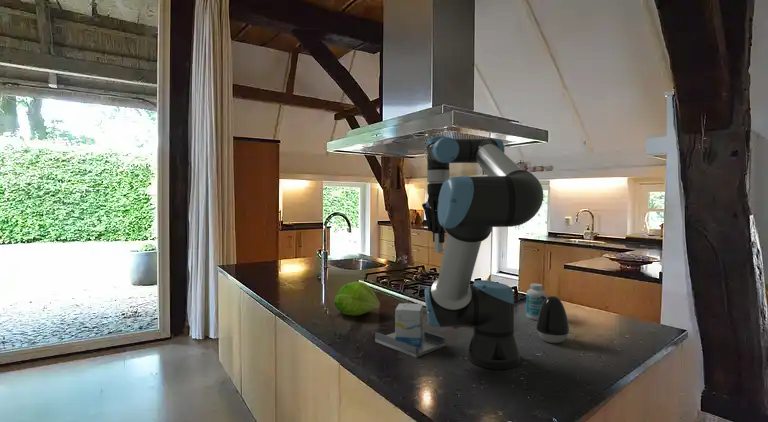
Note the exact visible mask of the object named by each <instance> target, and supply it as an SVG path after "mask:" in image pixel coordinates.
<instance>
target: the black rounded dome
mask: <svg viewBox="0 0 768 422" xmlns="http://www.w3.org/2000/svg"><path fill="white" fill-rule="evenodd" d="M541 298H542V299H543V300H544V302H543V303H542V306H541V308H540V311H539V314H538V319H537V320H536V330H537V334H538V335H539V337H540V339H542V340H543V341H544V342H546V343H551V344H560V343H563V342H564V341H565V340H566V339H567V337H568V335H569V333H570V327H569V326H570V325H569V321H568V319H569V318H568V315H567V311H566V309H565V307H564V304H563V302H562V301H561V299H560V298H558V297H557V296H556V295H555V296H554V295H550V296H546V297H544V296H543V295H542V296H541Z"/></svg>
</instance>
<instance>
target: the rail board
mask: <svg viewBox="0 0 768 422" xmlns="http://www.w3.org/2000/svg"><path fill="white" fill-rule="evenodd" d="M374 338H375V339H374V342H376V343H377V344H380V345H383V346H385V347H388V348H390V349H393V350H396V351H398V352H401V353H403V354H406V355H407V356H411V357H412V358H413V357H414V358H416V359H417V358H420V357H421V356H425V355H426V354H429V353H431V352H433V351H436V350H439V349H441V348H443V347H446V336H444V335H440V334H437V333H434V332H431V331H428V330H426V329H425V330H424V329H423V339H422V342H421V345H420V346H417V345H411V344H408V343H405V342H403V341H400V340H397V339H395V331H394V332H392V333H389V334H383V333H380V332H378V331H377V332H375V333H374Z"/></svg>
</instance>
